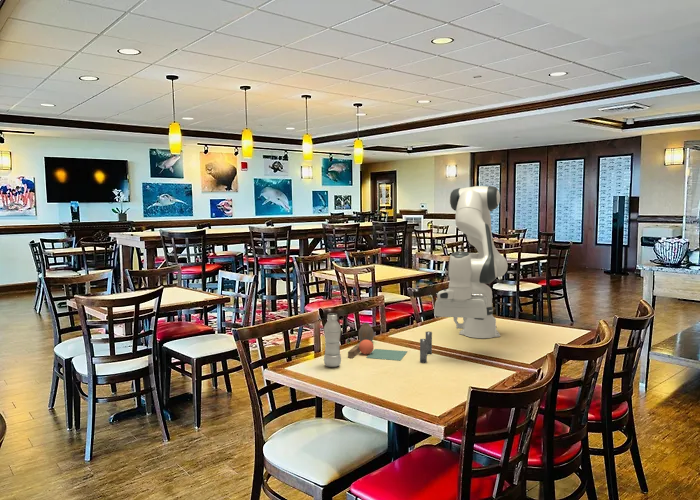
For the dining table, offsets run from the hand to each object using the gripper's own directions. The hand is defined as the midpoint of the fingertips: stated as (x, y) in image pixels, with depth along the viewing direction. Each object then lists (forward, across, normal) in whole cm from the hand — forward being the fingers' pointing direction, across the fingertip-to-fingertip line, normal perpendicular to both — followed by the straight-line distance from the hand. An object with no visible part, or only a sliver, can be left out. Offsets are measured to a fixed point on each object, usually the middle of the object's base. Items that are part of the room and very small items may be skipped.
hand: (460, 328), depth 204 cm
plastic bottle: (+12, +46, +22) cm, 52 cm away
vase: (+13, +43, -17) cm, 49 cm away
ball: (+9, +38, +2) cm, 39 cm away
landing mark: (+12, +30, +1) cm, 32 cm away
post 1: (+12, +14, +7) cm, 20 cm away
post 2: (+13, +13, -6) cm, 19 cm away
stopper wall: (+12, +42, +1) cm, 44 cm away
